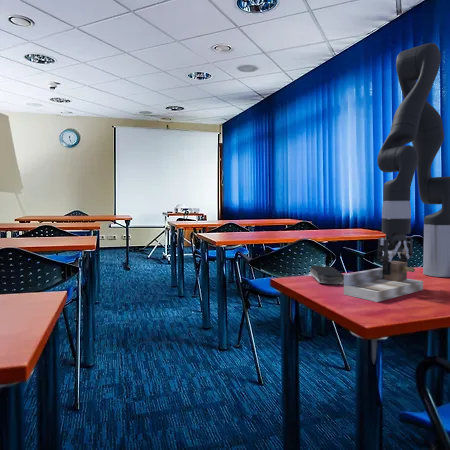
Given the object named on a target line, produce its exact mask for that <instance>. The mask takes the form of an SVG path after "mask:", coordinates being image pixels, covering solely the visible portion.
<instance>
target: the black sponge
mask: <svg viewBox="0 0 450 450" xmlns="http://www.w3.org/2000/svg"><path fill="white" fill-rule="evenodd" d="M309 271H310V272H309V274H310V275H311V276H312V278H314V280H316V281H317V282H318V283H320V284H328V285H338V284H340V285H343V286H344V274H343V273H342V272H340V271H339V270H338V269H336V268H335V267H332V266H324V265H311V266H310V270H309Z"/></svg>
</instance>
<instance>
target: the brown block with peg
mask: <svg viewBox="0 0 450 450" xmlns="http://www.w3.org/2000/svg"><path fill="white" fill-rule="evenodd" d="M415 271H416V269H415V268H414V267H412V266H411V267H409V266H408V267H407V262H400V261H399V260H391V275H384V280H390V281H396V282H398V281H403V280H407V279H408V272H410V273H413V272H414V273H415Z"/></svg>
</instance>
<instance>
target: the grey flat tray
mask: <svg viewBox="0 0 450 450" xmlns="http://www.w3.org/2000/svg"><path fill="white" fill-rule="evenodd" d="M382 269H383V266H382V267H377V268H372V269H371V268H370V269H365V270H361V271H355V272H349V273H344V274H343V275H344V284H343V295H345V296H349V297H353V298H357V299H362V300H365V301H371V302H373V303H374V302H375V303H379V302H383V301H387V300H391V299H394V298H398V297H402V296H405V295H409V294H412V293H418V292H419V291H423V290H424V280H419V279H412V278H407V280H403V281H398V282H396V281H390V280H384V274H383V271H382Z"/></svg>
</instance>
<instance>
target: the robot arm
mask: <svg viewBox="0 0 450 450" xmlns="http://www.w3.org/2000/svg"><path fill="white" fill-rule="evenodd" d="M441 57H442V56H441V51H440V48H439V46H438V44H436V43H434V42H429V43H428V42H427V43H424V44H420V45H417V46H415V47H411V48H409V49H405V50H402V51H400V52H399V53H398V54H397V56H396V59H395V67H396V69H395V70H396V75H397V80H398V82H399V87H400V90H401V93H402V96H403V97H402V98H403V100H402V101H401V102H400V104H399V105H398V107H397V109H396V110H395V113H394V115H393V119H392V123H391V127H390V132H389V134H388V135H387V136H386V139H385V140H384V142H383V144H382V146H381V148H380V150H379V152H378V154H377V159H376V160H377V163H376V164H377V166H378V169H379V170H380V171H381V172H383V173H387V174H388V173H389V174H390V173H397V174H396V177H395V178H393V179H390V180H387V181H386V182H385V183H383V188H382V190H383V192H382V193H383V195H382V207H381V208H382V209H381V233H382V234H385V237H379V238H378V239H377V255H376V256H377V257H376V258H377V260H380V261H381V262H382V267H383V269H382V271H383V274H384V275H391V261H393V257H395V256H396V254H397V255H398V258H399V260H398V261H400V262H407V267H409V266H408V265H409V264H408V263H409V259H410V257H413V254H414V252H413V250H414V249H413V245H414V243H413V241H414V240H413V238H414V237H413V236H407V235H410V234H411V232H412V231H411V230H412V229H411V228H412V226H411V225H412V220H411V219H412V207H411V187H412V182H413V179H414V176H415V173H416V175H417V186H418V196H419V198H420V201H421V203H422V204H425V205H442V207H441V208H440V209H439V210H438V211H436V212H433V213H431V214H428V215H425V216H424V218H423V259H422V260H423V263H422V265H423V266H422V267H423V268H422V274H423V275H426V276H430V277H439V278H450V176H449V175H448V176H435V177H433V176H432V170H431V169H432V165H433V162H434V160H435V158H436V156H437V154H438V152H439V151H440V149H441V147H442V145H443V142H444V139H445V131H444V125H443V119H442V117H441V114H440V113H439V112H438V111H437V109H436V108H435V107H434V106H433V105H432V104H431V103H430V102H429V101H427V99H428V97H429V95H430V93H431V90H432V88H433V85H434V83H435V80H436V78H437V76H438V74H439V70H440V67H441V60H442V59H441ZM410 143H411V144H412V145H407V144H410Z"/></svg>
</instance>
